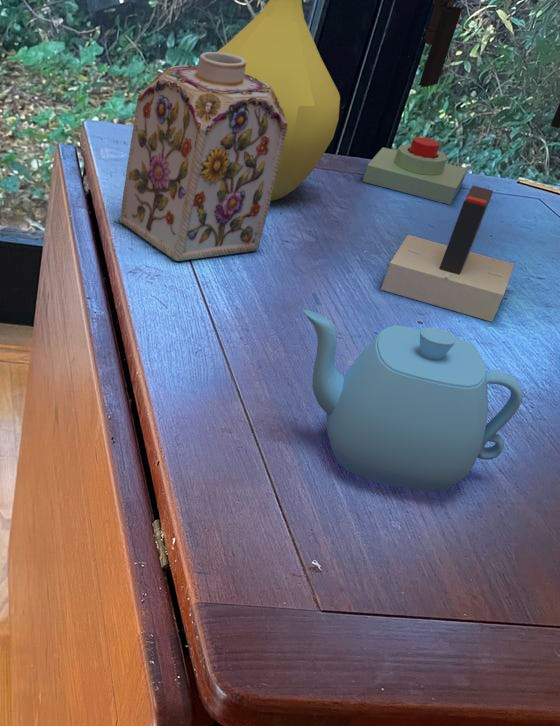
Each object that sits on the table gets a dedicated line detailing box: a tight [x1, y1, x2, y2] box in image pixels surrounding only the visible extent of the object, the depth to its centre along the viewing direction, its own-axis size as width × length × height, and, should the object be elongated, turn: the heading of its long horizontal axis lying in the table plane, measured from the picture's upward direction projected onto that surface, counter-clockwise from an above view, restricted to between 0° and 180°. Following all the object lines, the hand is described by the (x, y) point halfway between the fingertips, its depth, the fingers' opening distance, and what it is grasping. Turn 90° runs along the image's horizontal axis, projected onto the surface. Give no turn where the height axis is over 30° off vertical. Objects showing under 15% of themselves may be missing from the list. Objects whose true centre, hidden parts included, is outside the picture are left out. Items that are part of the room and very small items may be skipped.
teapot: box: [302, 309, 523, 493], centre depth 78 cm, size 13×11×18 cm
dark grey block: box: [439, 185, 494, 274], centre depth 104 cm, size 6×2×7 cm, turn 155°
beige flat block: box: [380, 234, 516, 323], centre depth 108 cm, size 12×10×3 cm
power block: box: [362, 143, 468, 206], centre depth 134 cm, size 12×10×4 cm
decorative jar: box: [119, 51, 288, 262], centre depth 105 cm, size 12×12×18 cm
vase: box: [217, 0, 341, 202], centre depth 116 cm, size 18×18×30 cm
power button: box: [409, 136, 441, 158], centre depth 133 cm, size 4×4×2 cm
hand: (491, 104), depth 95 cm, fingers open, 13 cm apart
